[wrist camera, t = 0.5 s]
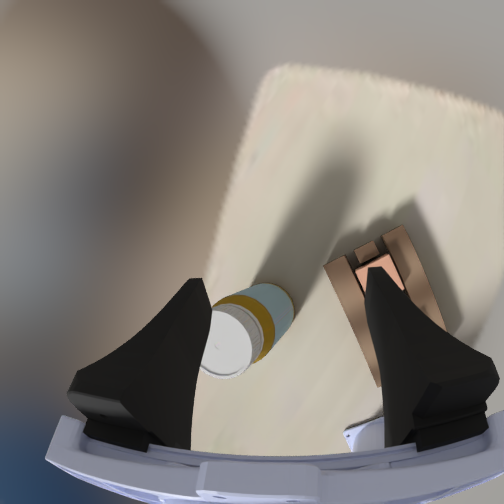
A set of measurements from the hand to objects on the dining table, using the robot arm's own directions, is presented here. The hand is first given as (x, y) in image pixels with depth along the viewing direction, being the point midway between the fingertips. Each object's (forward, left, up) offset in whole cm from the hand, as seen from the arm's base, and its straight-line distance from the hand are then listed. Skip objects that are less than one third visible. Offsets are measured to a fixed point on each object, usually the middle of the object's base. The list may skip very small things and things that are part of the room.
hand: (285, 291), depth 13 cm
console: (-8, -4, -24) cm, 26 cm away
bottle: (-2, +10, -24) cm, 26 cm away
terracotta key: (-4, -4, -23) cm, 23 cm away
